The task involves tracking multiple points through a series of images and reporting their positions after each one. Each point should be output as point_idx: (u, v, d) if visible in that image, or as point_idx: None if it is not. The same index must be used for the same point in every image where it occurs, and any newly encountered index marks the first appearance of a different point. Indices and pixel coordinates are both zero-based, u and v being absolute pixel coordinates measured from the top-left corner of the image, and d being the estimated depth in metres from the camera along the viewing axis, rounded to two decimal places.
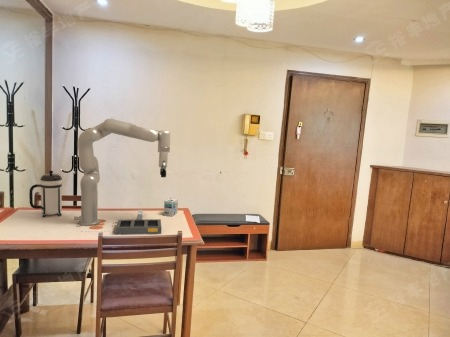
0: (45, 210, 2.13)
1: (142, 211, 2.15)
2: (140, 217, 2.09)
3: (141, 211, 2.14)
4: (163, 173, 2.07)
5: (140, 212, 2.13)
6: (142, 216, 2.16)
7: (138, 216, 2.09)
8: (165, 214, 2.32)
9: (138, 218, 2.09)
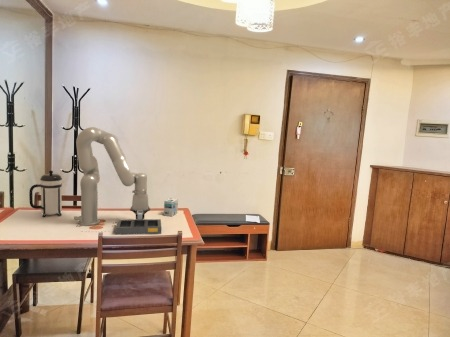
0: (45, 210, 2.13)
1: (142, 211, 2.15)
2: (140, 217, 2.09)
3: (141, 211, 2.14)
4: None
5: (140, 212, 2.13)
6: None
7: (138, 216, 2.09)
8: (165, 214, 2.32)
9: (138, 218, 2.09)
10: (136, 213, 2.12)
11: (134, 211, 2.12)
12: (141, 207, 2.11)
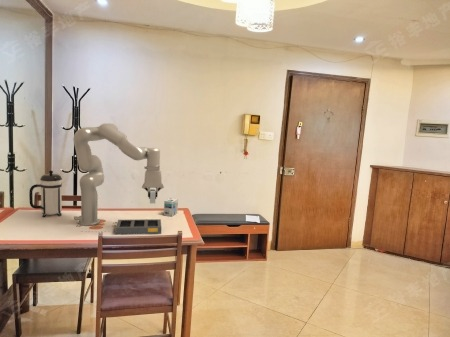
0: (45, 210, 2.13)
1: None
2: (153, 195, 1.95)
3: (154, 190, 2.00)
4: None
5: (153, 190, 1.99)
6: None
7: (151, 194, 1.95)
8: (165, 214, 2.32)
9: (151, 196, 1.95)
10: (148, 191, 1.98)
11: (146, 189, 1.98)
12: (154, 184, 1.97)
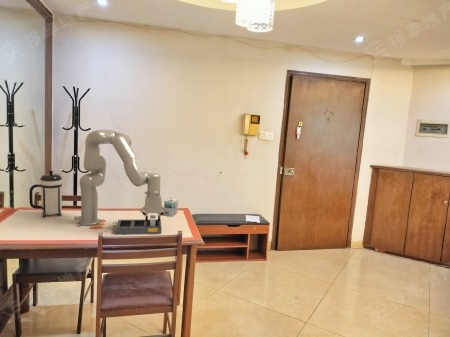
0: (45, 210, 2.13)
1: None
2: (153, 222, 1.96)
3: (154, 216, 2.01)
4: None
5: (153, 217, 2.00)
6: None
7: (151, 221, 1.96)
8: (165, 214, 2.32)
9: (151, 224, 1.96)
10: (146, 215, 1.99)
11: (144, 213, 1.99)
12: (154, 209, 1.98)
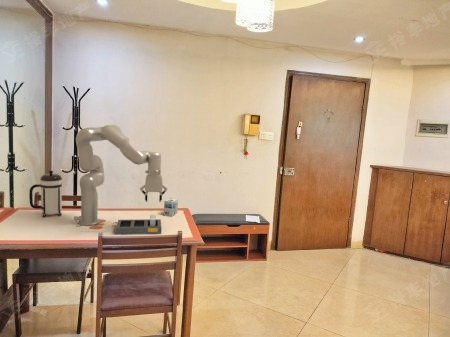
0: (45, 210, 2.13)
1: None
2: (153, 222, 1.96)
3: (154, 216, 2.01)
4: (161, 197, 2.00)
5: (153, 217, 2.00)
6: None
7: (151, 221, 1.96)
8: (165, 214, 2.32)
9: (151, 224, 1.96)
10: (145, 194, 1.97)
11: (143, 192, 1.97)
12: (155, 188, 1.96)
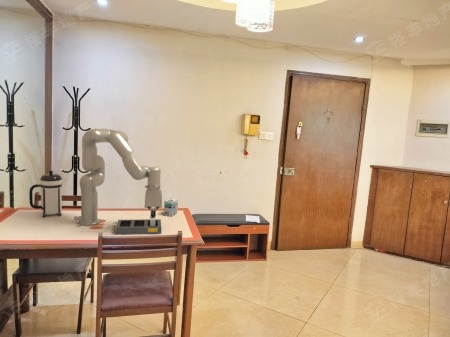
0: (45, 210, 2.13)
1: None
2: (153, 222, 1.96)
3: None
4: (155, 212, 2.01)
5: (153, 217, 2.00)
6: None
7: (151, 221, 1.96)
8: (165, 214, 2.32)
9: (151, 224, 1.96)
10: (151, 209, 1.99)
11: (149, 207, 1.99)
12: (154, 203, 1.97)
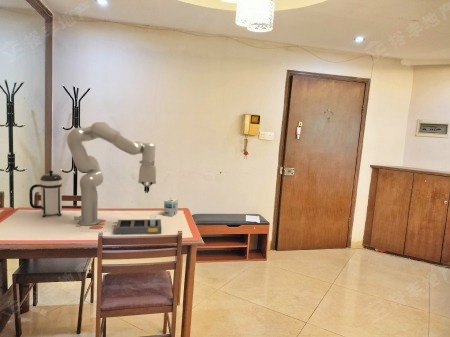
0: (45, 210, 2.13)
1: None
2: (153, 222, 1.96)
3: (154, 216, 2.01)
4: None
5: (153, 217, 2.00)
6: None
7: (151, 221, 1.96)
8: (165, 214, 2.32)
9: (151, 224, 1.96)
10: (145, 185, 2.01)
11: (143, 183, 2.01)
12: (148, 179, 1.99)
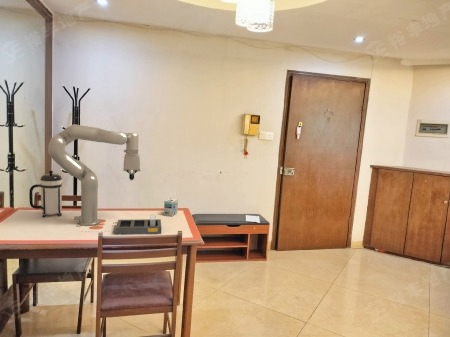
0: (45, 210, 2.13)
1: None
2: (153, 222, 1.96)
3: (154, 216, 2.01)
4: None
5: (153, 217, 2.00)
6: None
7: (151, 221, 1.96)
8: (165, 214, 2.32)
9: (151, 224, 1.96)
10: (129, 173, 2.12)
11: (128, 171, 2.12)
12: (132, 166, 2.11)
